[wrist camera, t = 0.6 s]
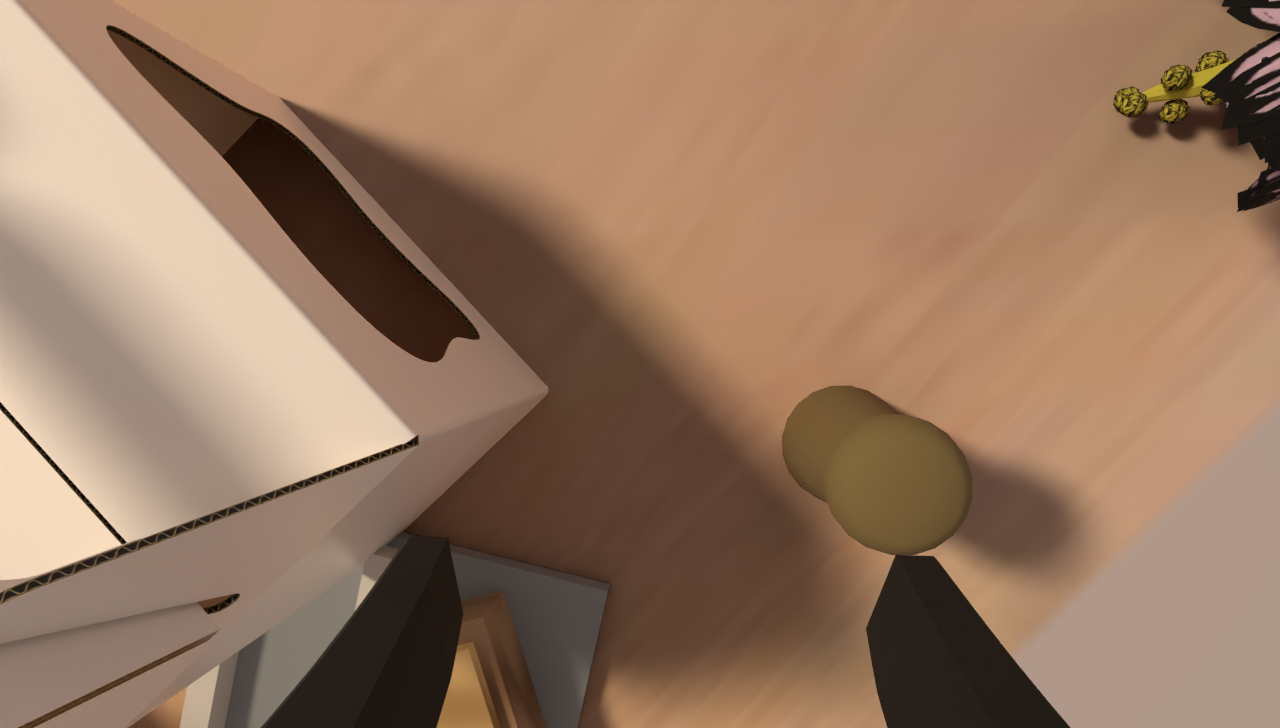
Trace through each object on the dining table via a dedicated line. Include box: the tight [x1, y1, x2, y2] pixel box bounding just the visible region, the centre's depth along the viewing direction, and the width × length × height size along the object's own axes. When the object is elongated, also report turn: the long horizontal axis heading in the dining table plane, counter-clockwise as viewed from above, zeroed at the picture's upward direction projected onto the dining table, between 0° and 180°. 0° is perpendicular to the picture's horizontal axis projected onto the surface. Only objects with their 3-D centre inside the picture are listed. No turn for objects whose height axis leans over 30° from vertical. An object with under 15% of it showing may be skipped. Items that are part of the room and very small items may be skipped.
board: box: [180, 532, 610, 728], centre depth 35 cm, size 14×21×3 cm, turn 77°
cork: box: [782, 386, 972, 555], centre depth 29 cm, size 6×6×11 cm
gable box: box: [0, 0, 549, 728], centre depth 23 cm, size 22×13×28 cm, turn 43°
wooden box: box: [437, 590, 547, 728], centre depth 33 cm, size 8×5×4 cm, turn 17°
